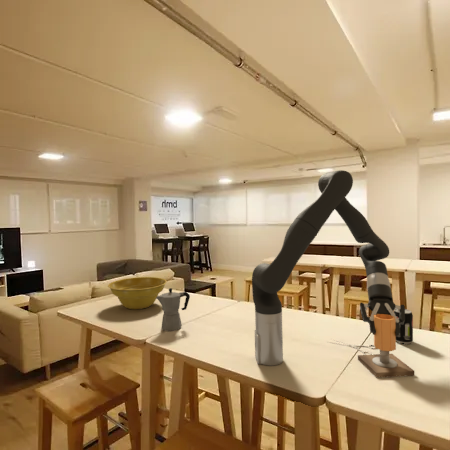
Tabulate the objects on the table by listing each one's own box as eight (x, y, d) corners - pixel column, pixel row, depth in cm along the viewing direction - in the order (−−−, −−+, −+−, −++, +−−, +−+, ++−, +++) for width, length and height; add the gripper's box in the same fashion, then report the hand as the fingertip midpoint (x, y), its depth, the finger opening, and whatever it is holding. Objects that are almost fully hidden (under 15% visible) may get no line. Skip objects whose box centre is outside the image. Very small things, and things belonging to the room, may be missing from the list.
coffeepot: (158, 333, 137) (157, 292, 137) (155, 326, 146) (154, 287, 146) (193, 328, 143) (191, 288, 142) (188, 321, 152) (187, 284, 151)
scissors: (376, 357, 109) (320, 343, 122) (376, 359, 109) (320, 345, 122) (384, 347, 118) (330, 334, 130) (384, 349, 118) (331, 336, 130)
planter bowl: (178, 305, 180) (178, 281, 179) (125, 319, 158) (124, 292, 157) (149, 295, 203) (148, 274, 203) (99, 306, 181) (98, 283, 180)
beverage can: (413, 346, 118) (413, 314, 118) (392, 343, 122) (392, 312, 121) (412, 339, 124) (412, 309, 124) (393, 336, 127) (393, 307, 127)
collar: (376, 350, 101) (375, 319, 100) (373, 342, 107) (372, 313, 106) (397, 351, 99) (396, 320, 99) (393, 344, 105) (392, 314, 104)
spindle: (376, 377, 97) (376, 350, 96) (357, 359, 109) (357, 335, 108) (414, 375, 97) (414, 348, 97) (392, 357, 109) (391, 333, 109)
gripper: (357, 282, 111) (361, 327, 100) (403, 283, 107) (413, 331, 96) (356, 293, 117) (360, 337, 106) (400, 295, 112) (409, 341, 101)
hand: (385, 334), depth 101 cm, fingers closed on collar, 6 cm apart
